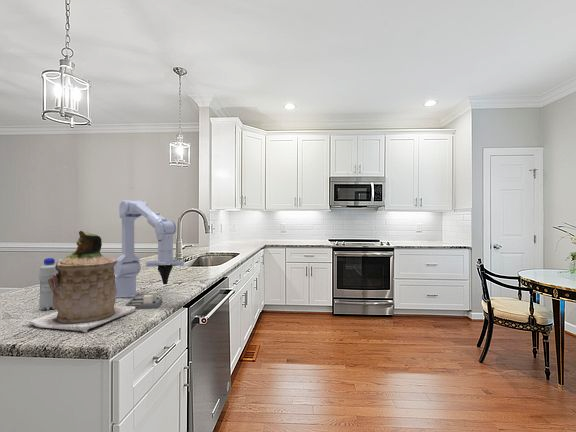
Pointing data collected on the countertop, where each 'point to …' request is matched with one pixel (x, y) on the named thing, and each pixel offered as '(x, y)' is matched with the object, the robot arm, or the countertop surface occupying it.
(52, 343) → the countertop surface
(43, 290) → the bottle
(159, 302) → the tray
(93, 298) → the cookie jar
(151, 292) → the tab
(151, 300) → the tab
